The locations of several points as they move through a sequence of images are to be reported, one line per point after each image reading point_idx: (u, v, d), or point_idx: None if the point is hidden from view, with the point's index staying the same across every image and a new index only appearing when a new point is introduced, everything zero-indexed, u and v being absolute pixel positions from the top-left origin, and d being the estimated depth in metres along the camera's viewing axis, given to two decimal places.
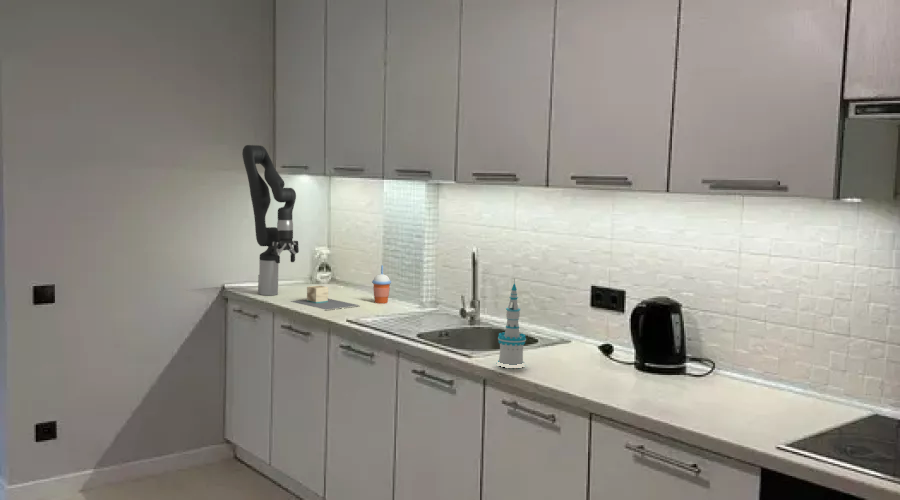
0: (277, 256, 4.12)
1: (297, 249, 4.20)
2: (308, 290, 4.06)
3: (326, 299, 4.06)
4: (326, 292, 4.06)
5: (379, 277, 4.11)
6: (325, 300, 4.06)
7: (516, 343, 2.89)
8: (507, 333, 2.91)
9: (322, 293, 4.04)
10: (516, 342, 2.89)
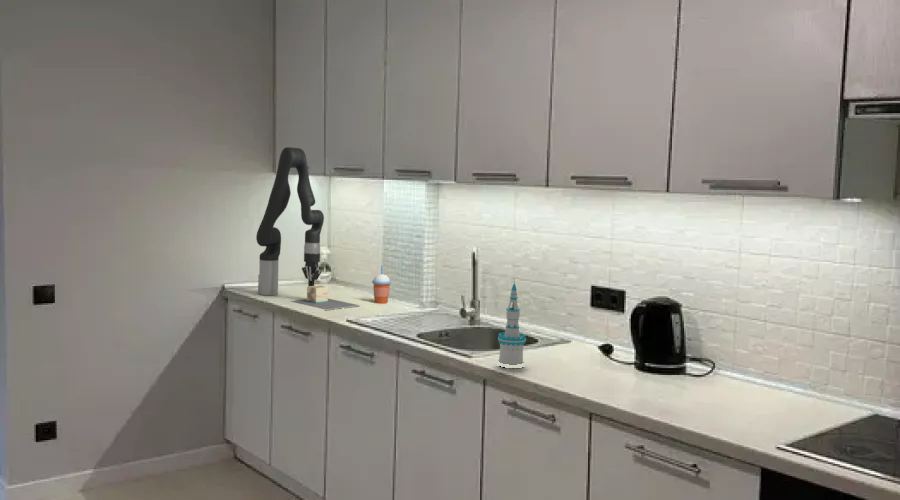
0: None
1: None
2: (308, 290, 4.06)
3: (326, 299, 4.06)
4: (326, 292, 4.06)
5: (379, 277, 4.11)
6: (325, 300, 4.06)
7: (516, 343, 2.89)
8: (507, 333, 2.91)
9: (322, 293, 4.04)
10: (516, 342, 2.89)
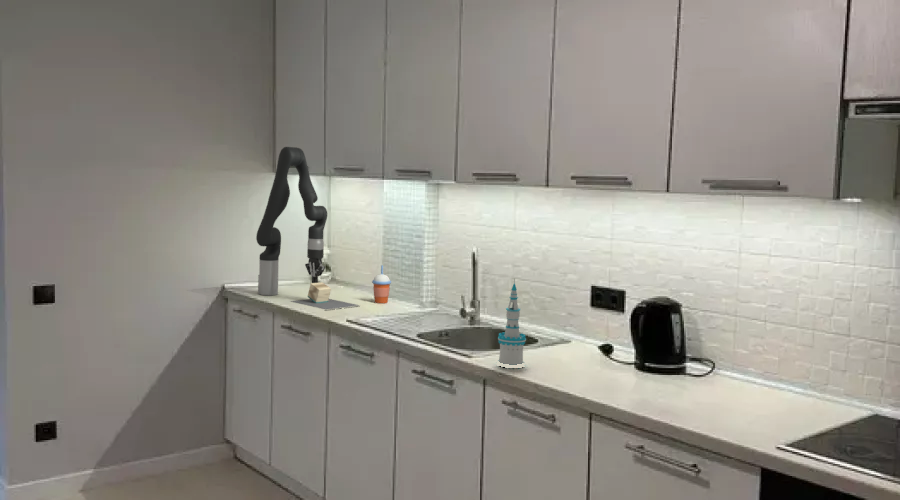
0: (317, 277, 4.07)
1: None
2: (311, 287, 4.04)
3: (327, 299, 4.06)
4: (328, 293, 4.05)
5: (379, 277, 4.11)
6: (325, 300, 4.06)
7: (516, 343, 2.89)
8: (507, 333, 2.91)
9: (324, 294, 4.03)
10: (516, 342, 2.89)
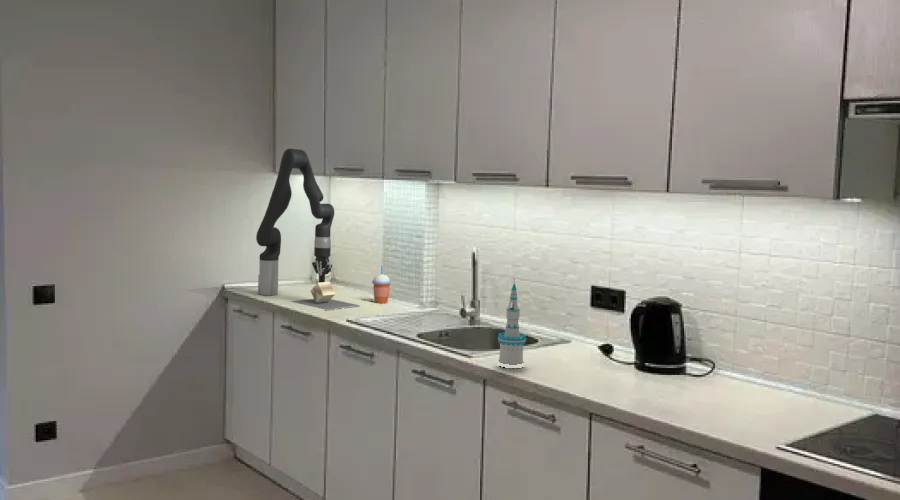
0: (324, 276, 4.03)
1: None
2: (316, 286, 4.01)
3: (327, 300, 4.06)
4: (331, 297, 4.04)
5: (379, 277, 4.11)
6: (326, 301, 4.06)
7: (516, 343, 2.89)
8: (507, 333, 2.91)
9: (326, 297, 4.02)
10: (516, 342, 2.89)
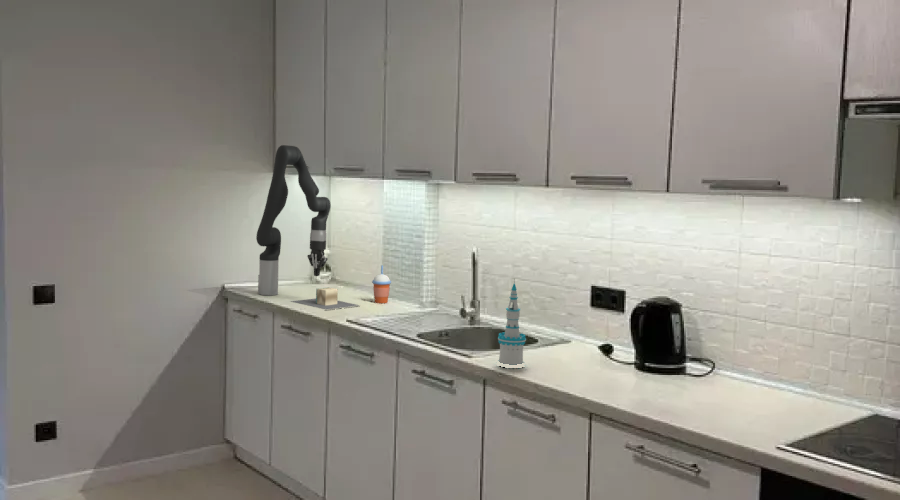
0: (319, 269, 4.05)
1: None
2: (323, 292, 3.98)
3: None
4: None
5: (379, 277, 4.11)
6: None
7: (516, 343, 2.89)
8: (507, 333, 2.91)
9: None
10: (516, 342, 2.89)
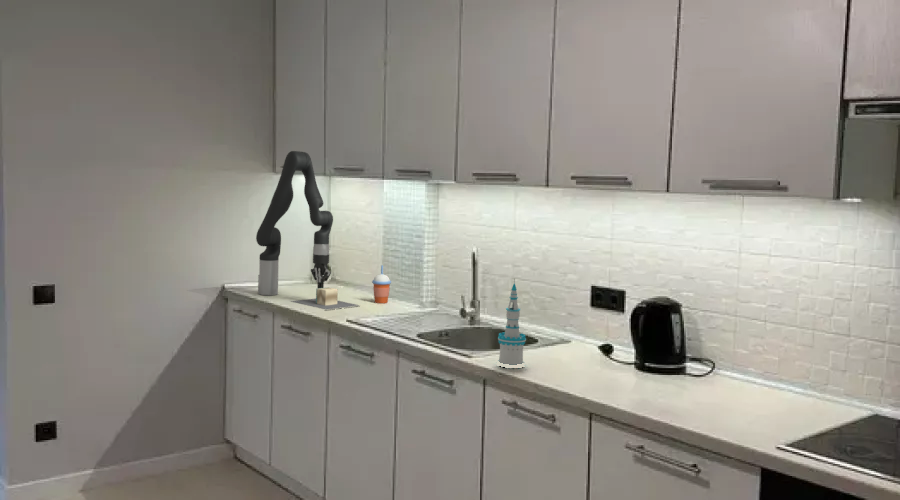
0: None
1: None
2: (323, 292, 3.98)
3: None
4: None
5: (379, 277, 4.11)
6: None
7: (516, 343, 2.89)
8: (507, 333, 2.91)
9: None
10: (516, 342, 2.89)
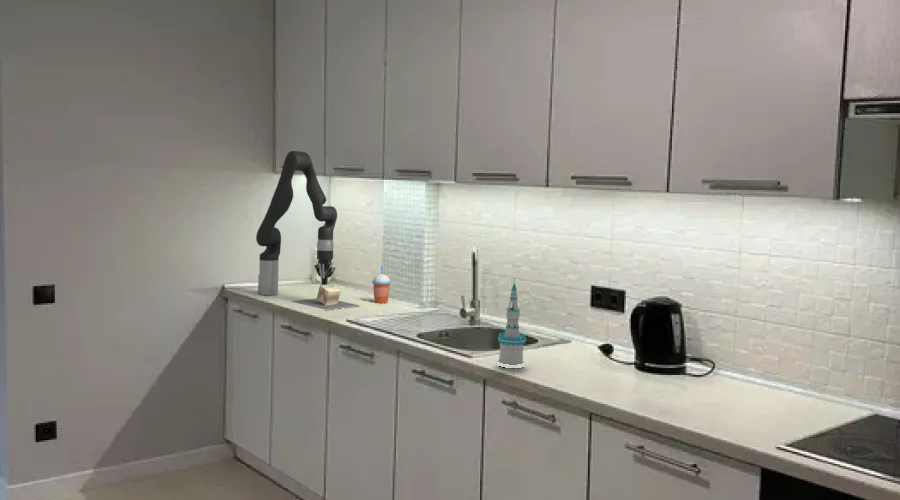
0: (327, 279, 4.02)
1: None
2: (326, 292, 3.96)
3: None
4: None
5: (379, 277, 4.11)
6: None
7: (516, 343, 2.89)
8: (507, 333, 2.91)
9: None
10: (516, 342, 2.89)
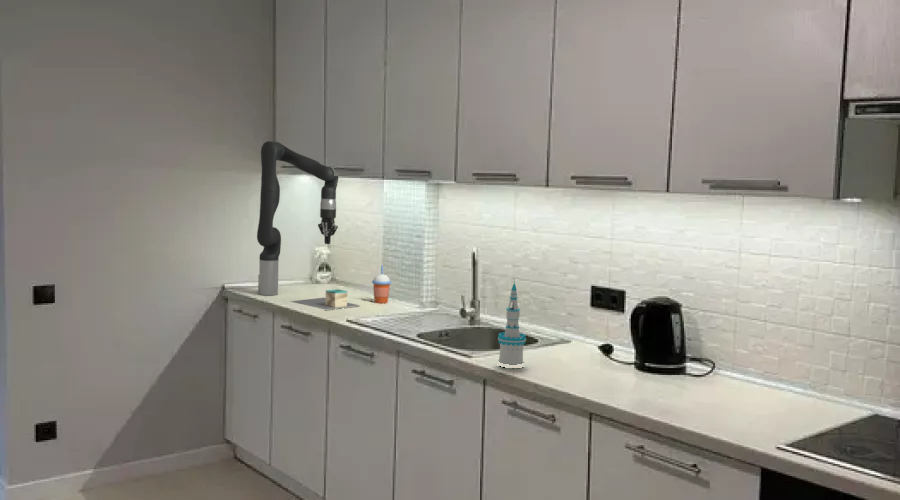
0: (330, 237, 4.15)
1: None
2: (333, 303, 3.93)
3: None
4: None
5: (379, 277, 4.11)
6: None
7: (516, 343, 2.89)
8: (507, 333, 2.91)
9: None
10: (516, 342, 2.89)
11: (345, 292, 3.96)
